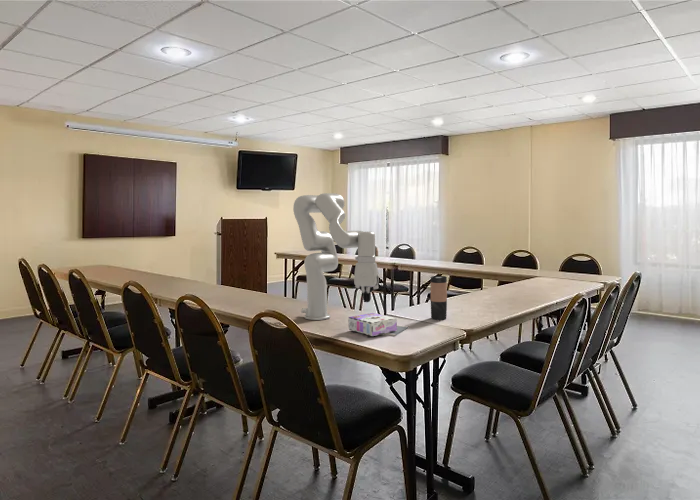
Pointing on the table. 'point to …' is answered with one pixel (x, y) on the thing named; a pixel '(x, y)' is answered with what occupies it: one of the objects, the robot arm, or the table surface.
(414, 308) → the table surface
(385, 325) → the candy box
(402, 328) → the mat
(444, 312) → the travel mug
